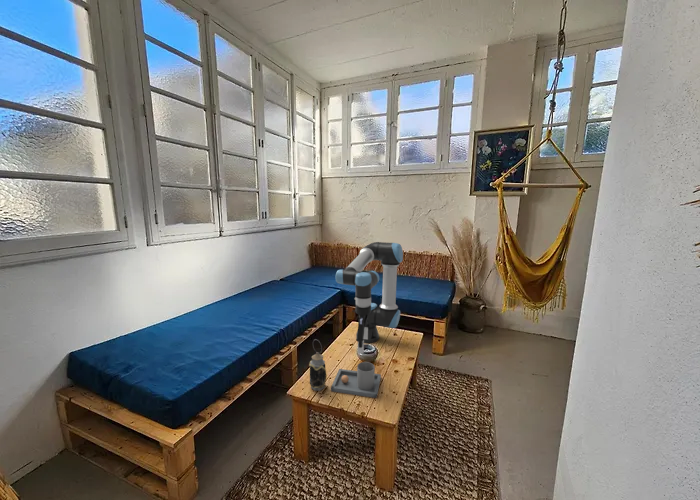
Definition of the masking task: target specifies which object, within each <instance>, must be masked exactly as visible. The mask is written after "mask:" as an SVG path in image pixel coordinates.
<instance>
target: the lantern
mask: <svg viewBox="0 0 700 500" xmlns="http://www.w3.org/2000/svg"><path fill="white" fill-rule="evenodd" d="M315 341H318V339H316V338H315V339H314V340H313V341H312V343H314V342H315ZM318 343H319V344H320V347H321V351H320V352H318V351H316V349H315V347H314V345H312V348H313V350H314V351H316V353H315V354H313V355H312V356H311V360H310V361H309V364H308V367H309V385H310V388H311V389H312V390H313V391H315V392H317V391H318V392H320V391H322V390H323V389H325V387H326V385H325V384H326V381H327V369H326V364H325V363H326V361H325V360H324V355H322V354H321V353H322V352H323V346H322V343H321V342H320V341H318Z"/></svg>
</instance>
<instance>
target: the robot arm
mask: <svg viewBox="0 0 700 500" xmlns="http://www.w3.org/2000/svg"><path fill="white" fill-rule="evenodd" d="M403 253H404V252H403V247H402V245H401V244H400V243H397V242H384V241H383V242H382V241H375V242H372V243H368V244H367V245H365V246H364V247H363V248H361V249H360V251H359V254H358V255H357V256H356V257H355V258H354V259H353V260H352V261H351V262H350V264H348V265H347V267H345V268H344V269H338V270H337V271H336V273H335V277H334V278H335V282H336V283H337V284H341V285H343V286H344V285H346V286H354V287H355V297H354V298H353V299H354V300H355V313H356V314H357V315H358V320H357V322H358V325H357V326H358V327H357V332H356V337H355V338H356V339H355V341H357V353H358V354H364V352H365V344H372V343H376V342H378V341H379V339H380V334H379V331H378V328H377V326H380V327H385V328H388V329H389V328H390V329H394V328H397V327H398V324H399V321H400V318H401V310H400V309H398V308H399V306H398V305H397V304H396V300H397V298H396V297H397V279H398V278H397V276H398V275H397V273H398V267H399V266H400V265H401V264H400V263H402V262H403V258H404V254H403ZM372 261H380V264H381V266H382V267H383V268H382V295H381V297H382V298H381V303H380V304H379V306H378V304H377V303H375V302H372V289H373V288H374V287H375V286H377V285H378V283H379V281H380V275H379V273H378V272H376V271H375V270H369V271H363V270H364V269H365V268H366V266H367V265H368V264H369V263H371V262H372Z"/></svg>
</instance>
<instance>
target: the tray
mask: <svg viewBox="0 0 700 500" xmlns="http://www.w3.org/2000/svg"><path fill="white" fill-rule="evenodd" d="M343 375H347V376H348V378H349V380H348V382H347V383H343V382H342V380H341V378H342V376H343ZM381 377H382V375H381V373H375V374H374V388H373V389H372V390H369V391H363V390H360V389H359V388H358V386H357V370H352V369H344V368H339V369H338V371H337V373H336V375H335V378H334V379H333V382H332V385H331V386H330V392H335V393H341V394H349V395H355V396H358V397H359V396H360V397H366V398H373V399H377V398H378V393H379V388H380V384H381Z"/></svg>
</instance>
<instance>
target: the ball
mask: <svg viewBox="0 0 700 500" xmlns="http://www.w3.org/2000/svg"><path fill="white" fill-rule="evenodd" d="M341 380H342V382H343V383H347V382H348V380H349V378H348V376H347V375H343V376H342V378H341Z"/></svg>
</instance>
